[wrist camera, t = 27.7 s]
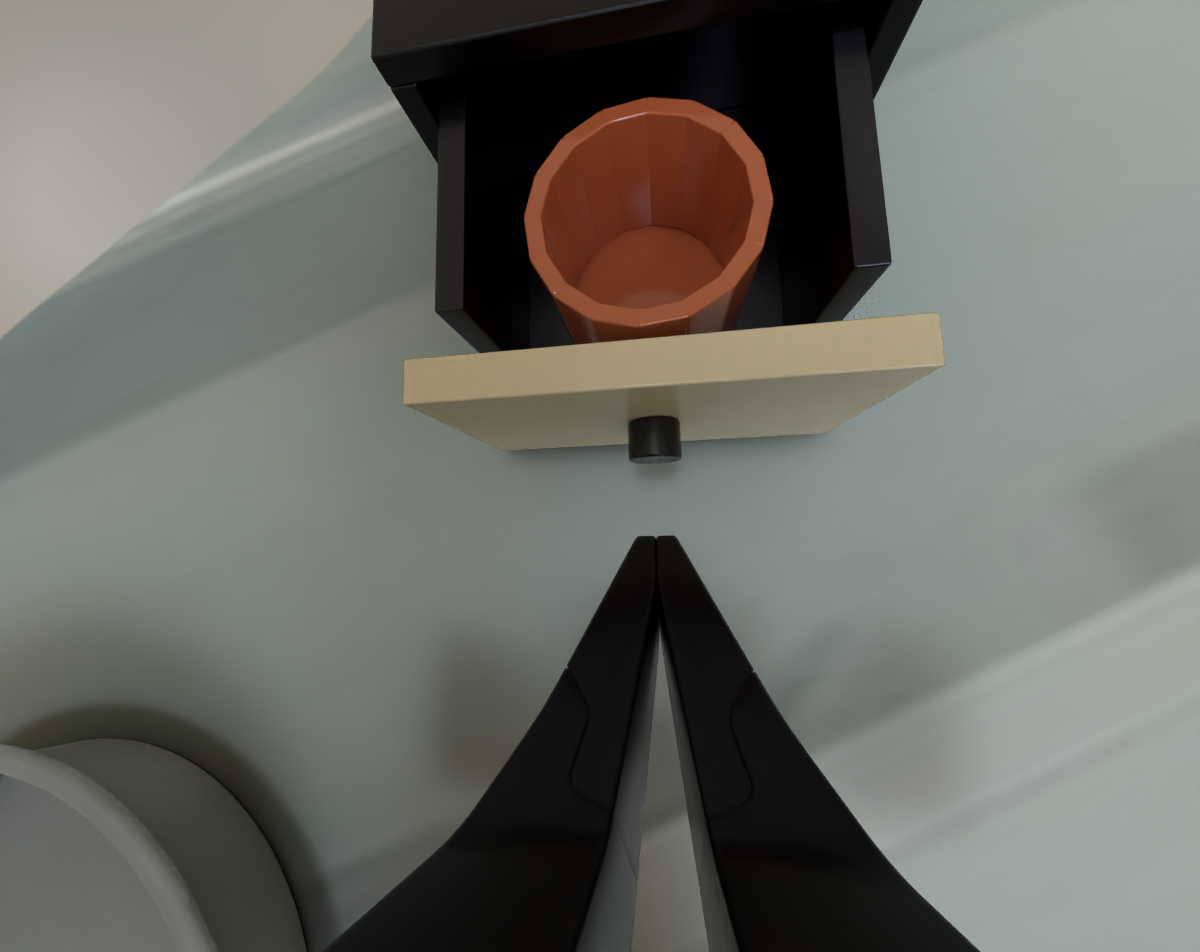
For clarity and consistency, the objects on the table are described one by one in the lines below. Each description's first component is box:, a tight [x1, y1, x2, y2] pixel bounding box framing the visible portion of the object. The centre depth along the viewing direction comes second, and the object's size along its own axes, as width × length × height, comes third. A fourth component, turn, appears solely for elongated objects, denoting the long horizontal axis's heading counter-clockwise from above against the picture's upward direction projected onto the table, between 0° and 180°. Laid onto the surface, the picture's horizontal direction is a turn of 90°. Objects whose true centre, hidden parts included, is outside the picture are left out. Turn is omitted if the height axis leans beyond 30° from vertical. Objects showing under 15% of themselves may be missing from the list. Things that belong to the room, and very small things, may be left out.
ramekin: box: [524, 97, 774, 345], centre depth 14 cm, size 6×6×5 cm
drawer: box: [403, 0, 945, 464], centre depth 14 cm, size 15×12×7 cm
